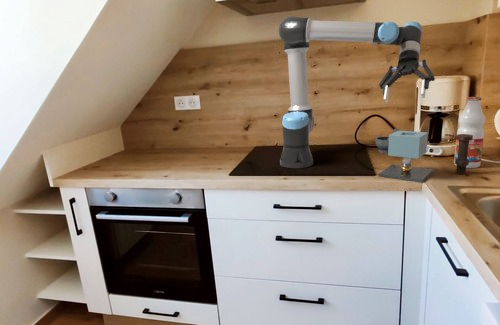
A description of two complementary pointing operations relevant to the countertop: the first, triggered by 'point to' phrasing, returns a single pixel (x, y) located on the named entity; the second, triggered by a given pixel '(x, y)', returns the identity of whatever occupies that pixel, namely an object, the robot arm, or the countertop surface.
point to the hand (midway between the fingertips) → (403, 98)
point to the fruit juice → (472, 131)
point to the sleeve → (407, 144)
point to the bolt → (462, 153)
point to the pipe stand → (406, 172)
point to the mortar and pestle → (383, 143)
